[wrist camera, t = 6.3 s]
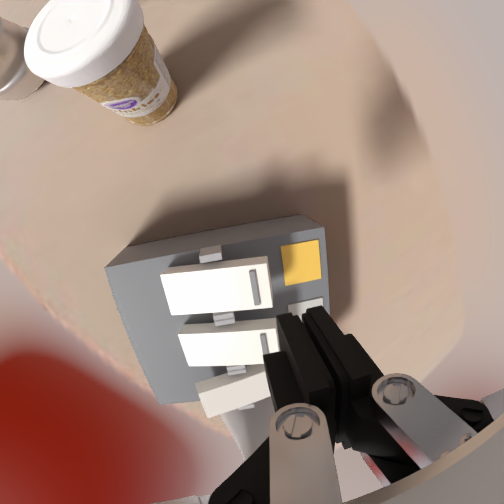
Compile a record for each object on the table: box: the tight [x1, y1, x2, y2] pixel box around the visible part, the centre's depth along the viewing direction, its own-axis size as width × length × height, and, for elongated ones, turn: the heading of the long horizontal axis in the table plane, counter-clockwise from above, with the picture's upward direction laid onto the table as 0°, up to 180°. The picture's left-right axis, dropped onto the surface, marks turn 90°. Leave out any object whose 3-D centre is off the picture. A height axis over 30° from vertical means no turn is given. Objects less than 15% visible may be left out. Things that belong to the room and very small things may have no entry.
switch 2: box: [178, 318, 280, 366], centre depth 17 cm, size 3×6×1 cm, turn 99°
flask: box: [220, 396, 275, 461], centre depth 22 cm, size 7×7×10 cm
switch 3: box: [194, 364, 271, 418], centre depth 18 cm, size 3×6×1 cm, turn 99°
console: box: [105, 214, 330, 410], centre depth 20 cm, size 12×14×7 cm
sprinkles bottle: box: [24, 0, 177, 126], centre depth 12 cm, size 5×5×14 cm
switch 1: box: [160, 256, 273, 315], centre depth 16 cm, size 3×6×1 cm, turn 99°
